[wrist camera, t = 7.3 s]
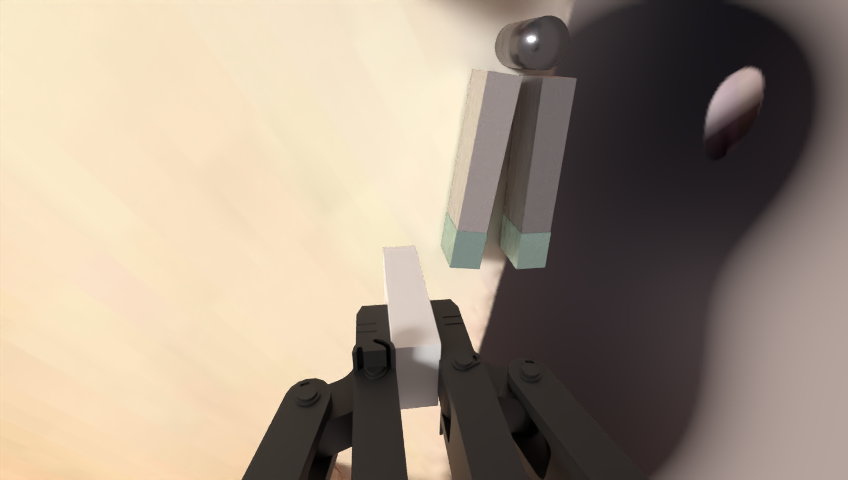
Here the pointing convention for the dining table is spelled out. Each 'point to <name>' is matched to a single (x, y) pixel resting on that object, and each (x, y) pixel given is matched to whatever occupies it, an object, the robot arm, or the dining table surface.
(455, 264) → the tong arm
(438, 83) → the dining table surface
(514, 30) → the base
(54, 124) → the dining table surface
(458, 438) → the robot arm
